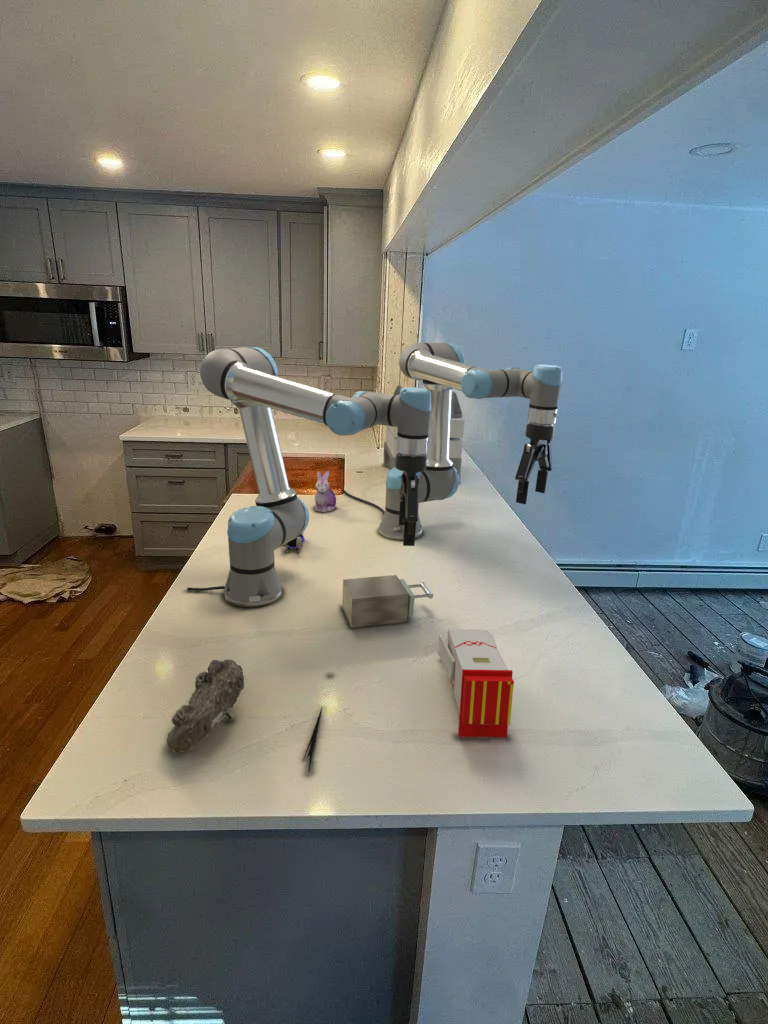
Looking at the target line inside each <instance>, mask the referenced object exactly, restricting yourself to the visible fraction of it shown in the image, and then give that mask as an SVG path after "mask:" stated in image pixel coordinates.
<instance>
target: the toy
mask: <svg viewBox="0 0 768 1024" xmlns="http://www.w3.org/2000/svg"><path fill="white" fill-rule="evenodd" d="M446 640H447V643H446V641H445V639H444V636H443V635H442V634H439V637H438V646H437V656H438V657H439V659H440V661H441V663H442V666H443V668H444V670H445V672H446V674H447V677H448V679H449V681H450V684H451V687H452V690H453V693H454V697H455V701H456V705H457V708H458V711H459V714H458V715H459V716H458V730H457V731H458V732H457V737H458V738H508V731H509V726H510V725H511V717H512V707H513V697H514V696H513V695H514V684H515V680H514V679H513V673H514V671H513V670H512V669H508V667H507V665H506V662H505V661H504V659H503V658H502V655H501V653H500V651H499V649H498V647H497V643H496V639H495V637H494V635H493V634H491V632H490V631H489V629H467V628H466V629H465V628H463V629H461V628H460V629H459V628H448V630H447V639H446Z"/></svg>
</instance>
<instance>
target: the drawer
mask: <svg viewBox="0 0 768 1024" xmlns="http://www.w3.org/2000/svg"><path fill="white" fill-rule="evenodd" d="M399 580H400V581H401V583H402V584H403V586H404V587H405V589H406V590H407V592H408V593H409V597H408V612H407V617H409V618H410V617H414V611H415V610H414V609H415V599H421V598H422V599H423V598H428V599H433V598H434V593H433V592H432V591H431V589H430V588H429V587H428V585H427V584H426V583H425V581H421V582H420V583H418V584H407V582H406V581H405V579H404V578H399ZM415 588H420V589H421V590H422V591H423V593H424V594H414V593H413V591H412V590H411V589H415Z"/></svg>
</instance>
